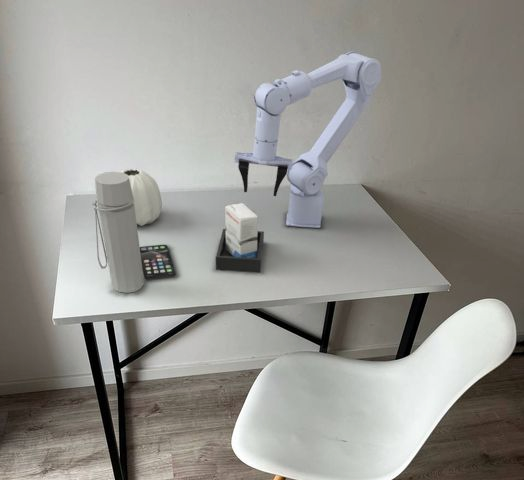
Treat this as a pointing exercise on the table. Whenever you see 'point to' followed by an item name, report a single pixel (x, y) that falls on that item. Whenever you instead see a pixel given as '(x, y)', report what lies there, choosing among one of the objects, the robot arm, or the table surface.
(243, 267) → the tray
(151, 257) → the smartphone
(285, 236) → the table surface
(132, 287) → the water bottle
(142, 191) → the vase
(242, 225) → the ink box
